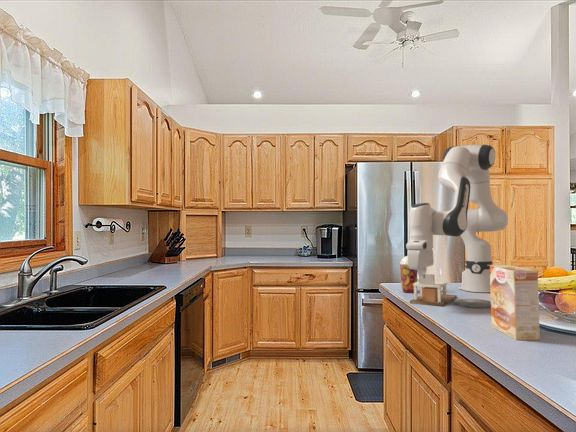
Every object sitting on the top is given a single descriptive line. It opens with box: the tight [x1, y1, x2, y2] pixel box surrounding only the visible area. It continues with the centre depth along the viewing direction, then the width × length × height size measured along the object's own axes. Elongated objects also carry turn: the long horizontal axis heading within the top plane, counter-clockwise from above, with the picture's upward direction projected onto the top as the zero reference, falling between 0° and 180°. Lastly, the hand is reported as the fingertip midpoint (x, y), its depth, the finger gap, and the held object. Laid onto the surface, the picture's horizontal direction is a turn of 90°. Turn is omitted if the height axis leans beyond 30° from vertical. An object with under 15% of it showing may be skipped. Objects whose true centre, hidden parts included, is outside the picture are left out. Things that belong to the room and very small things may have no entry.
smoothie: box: [399, 255, 418, 294], centre depth 196 cm, size 8×8×20 cm
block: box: [422, 287, 438, 302], centre depth 170 cm, size 5×5×6 cm
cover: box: [413, 273, 448, 302], centre depth 170 cm, size 9×11×11 cm
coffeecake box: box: [490, 264, 541, 341], centre depth 122 cm, size 15×7×20 cm, turn 178°
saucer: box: [454, 298, 491, 309], centre depth 164 cm, size 14×14×1 cm
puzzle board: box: [409, 293, 457, 307], centre depth 174 cm, size 22×13×1 cm, turn 144°
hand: (422, 279), depth 162 cm, fingers closed
